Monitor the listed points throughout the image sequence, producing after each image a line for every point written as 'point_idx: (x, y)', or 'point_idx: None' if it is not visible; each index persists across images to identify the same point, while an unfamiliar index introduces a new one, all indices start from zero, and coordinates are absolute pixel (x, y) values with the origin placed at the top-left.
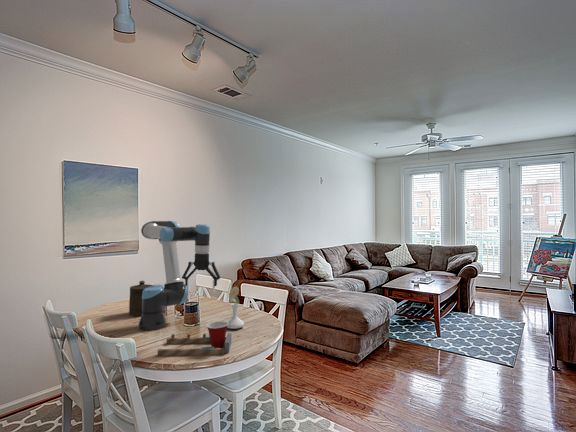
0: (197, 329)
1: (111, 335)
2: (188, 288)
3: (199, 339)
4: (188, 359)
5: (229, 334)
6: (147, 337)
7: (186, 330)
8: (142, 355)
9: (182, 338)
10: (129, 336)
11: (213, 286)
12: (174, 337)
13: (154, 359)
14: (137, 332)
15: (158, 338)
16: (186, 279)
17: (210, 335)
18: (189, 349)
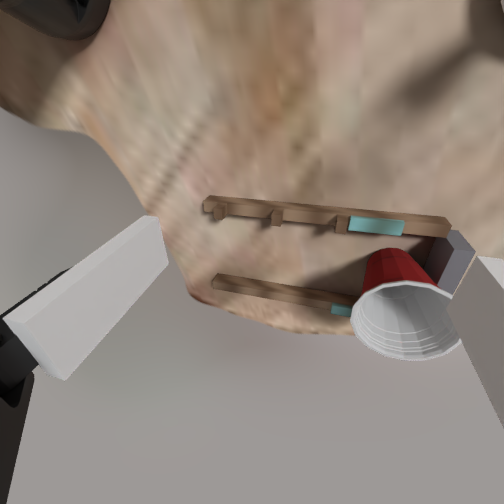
0: (298, 15)
1: (4, 101)
2: (146, 288)
3: (321, 222)
4: (300, 314)
5: (458, 266)
6: (123, 133)
7: (242, 36)
8: (182, 270)
9: (256, 213)
10: (62, 117)
11: (498, 389)
12: (226, 204)
13: (219, 295)
14: (55, 66)
15: (164, 148)
16: (25, 382)
17: (365, 308)
18: (296, 300)
